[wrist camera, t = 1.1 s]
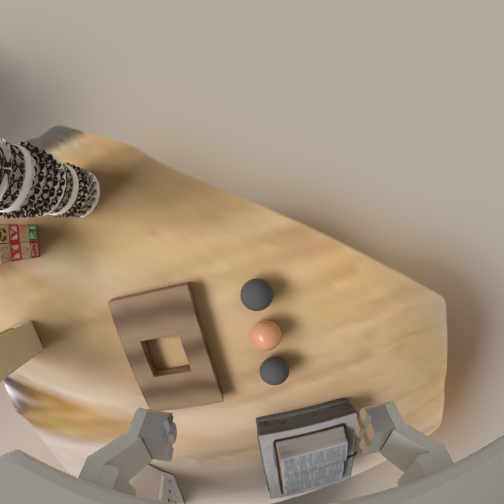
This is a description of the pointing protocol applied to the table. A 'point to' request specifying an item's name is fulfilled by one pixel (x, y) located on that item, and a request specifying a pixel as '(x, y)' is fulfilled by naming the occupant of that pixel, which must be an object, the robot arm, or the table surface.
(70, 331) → the table surface
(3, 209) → the black white tall cylinder
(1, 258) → the stack of blocks
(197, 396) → the walnut board
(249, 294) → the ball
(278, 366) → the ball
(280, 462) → the bible
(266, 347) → the terracotta ball
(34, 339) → the toy refrigerator
